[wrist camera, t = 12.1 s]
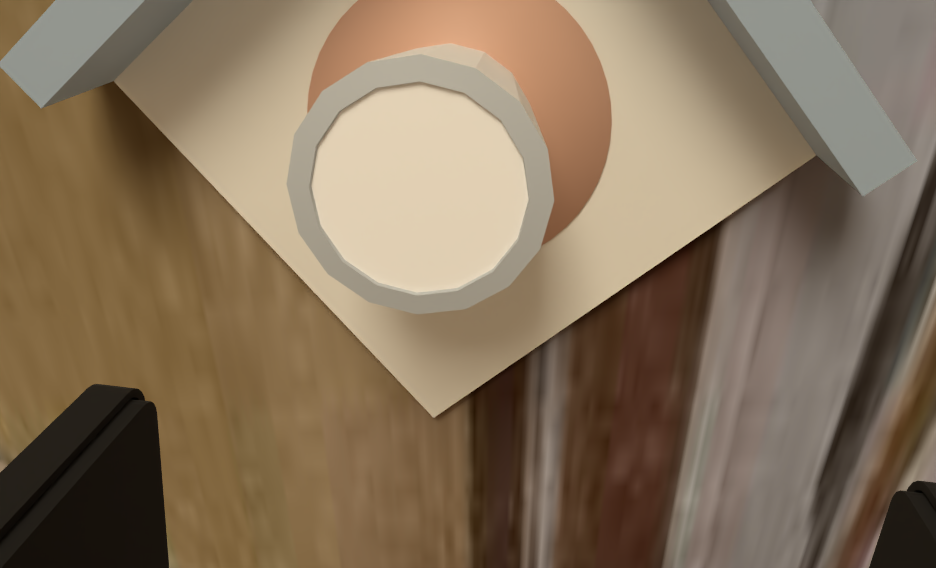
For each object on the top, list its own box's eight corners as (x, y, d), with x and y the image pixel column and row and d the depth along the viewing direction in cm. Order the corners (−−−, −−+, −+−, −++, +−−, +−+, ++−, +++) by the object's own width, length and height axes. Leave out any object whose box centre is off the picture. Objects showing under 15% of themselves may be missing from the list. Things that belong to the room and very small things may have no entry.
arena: (855, 120, 27) (917, 160, 23) (435, 409, 33) (417, 488, 28) (502, -400, 23) (491, -480, 18) (86, 40, 28) (-3, 64, 24)
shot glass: (452, -26, 26) (421, -9, 20) (596, 139, 28) (611, 206, 21) (302, 122, 28) (230, 182, 22) (444, 268, 30) (415, 363, 23)
